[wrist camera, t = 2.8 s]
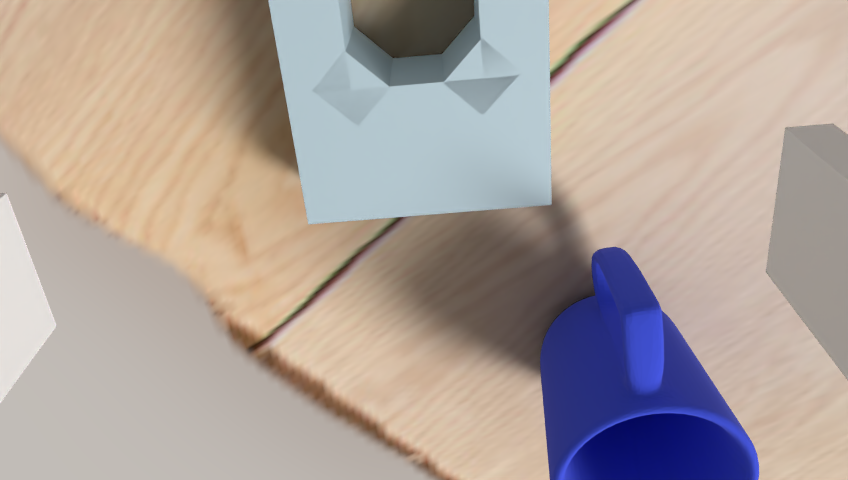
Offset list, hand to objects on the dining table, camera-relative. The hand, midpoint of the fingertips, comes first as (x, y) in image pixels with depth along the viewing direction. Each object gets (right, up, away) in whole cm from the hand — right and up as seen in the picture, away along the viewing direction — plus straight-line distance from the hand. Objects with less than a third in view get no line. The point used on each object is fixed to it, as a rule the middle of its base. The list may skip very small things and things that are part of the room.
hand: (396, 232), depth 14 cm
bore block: (0, +10, +18) cm, 21 cm away
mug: (+9, -3, +26) cm, 28 cm away
